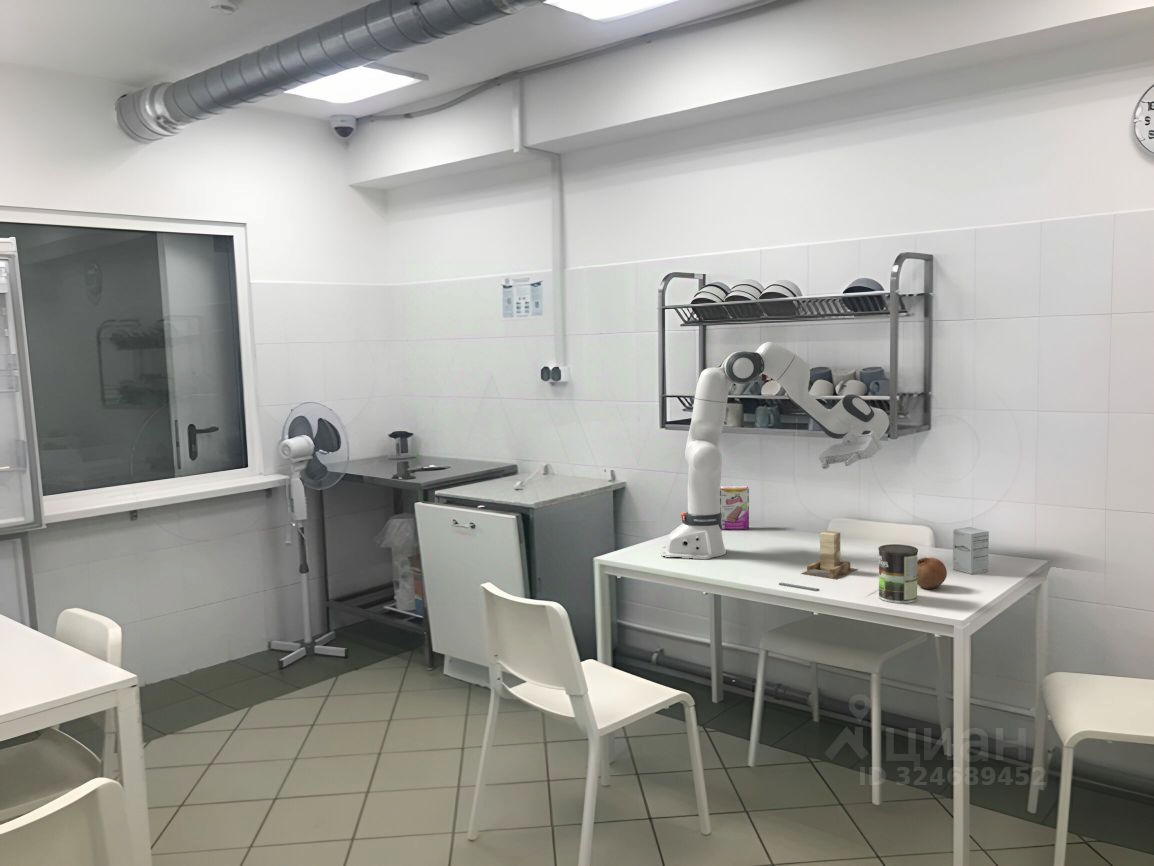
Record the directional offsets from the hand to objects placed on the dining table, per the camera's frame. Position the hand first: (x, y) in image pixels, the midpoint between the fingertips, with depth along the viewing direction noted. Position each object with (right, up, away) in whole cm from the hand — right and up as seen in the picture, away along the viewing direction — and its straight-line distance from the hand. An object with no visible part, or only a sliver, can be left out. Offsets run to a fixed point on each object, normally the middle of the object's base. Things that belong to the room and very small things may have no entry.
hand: (835, 465), depth 288 cm
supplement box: (+38, -32, -13) cm, 51 cm away
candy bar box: (-22, -27, +60) cm, 69 cm away
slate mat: (-14, -34, -21) cm, 42 cm away
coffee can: (+6, -36, -39) cm, 53 cm away
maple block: (-4, -32, -9) cm, 34 cm away
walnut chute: (-4, -33, -9) cm, 34 cm away
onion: (+19, -34, -29) cm, 49 cm away
